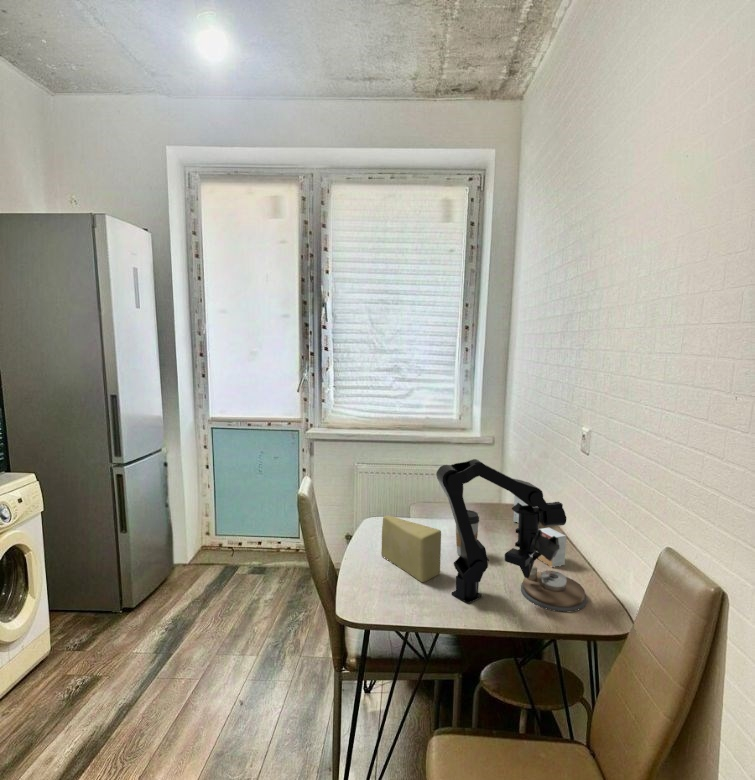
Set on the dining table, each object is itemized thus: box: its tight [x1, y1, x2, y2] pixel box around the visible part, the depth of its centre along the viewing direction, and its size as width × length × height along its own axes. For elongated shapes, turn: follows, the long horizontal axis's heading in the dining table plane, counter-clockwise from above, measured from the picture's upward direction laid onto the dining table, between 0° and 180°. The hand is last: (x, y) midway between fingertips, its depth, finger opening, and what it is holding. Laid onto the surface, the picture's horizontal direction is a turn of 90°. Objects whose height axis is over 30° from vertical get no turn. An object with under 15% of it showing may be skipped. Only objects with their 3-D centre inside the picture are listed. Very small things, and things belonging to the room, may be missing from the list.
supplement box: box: [512, 495, 537, 524], centre depth 188 cm, size 7×7×13 cm
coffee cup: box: [455, 509, 480, 557], centre depth 156 cm, size 8×8×15 cm
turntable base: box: [520, 581, 587, 613], centre depth 132 cm, size 18×19×1 cm
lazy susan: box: [522, 565, 586, 607], centre depth 131 cm, size 17×17×5 cm
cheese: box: [381, 514, 442, 583], centre depth 147 cm, size 22×10×15 cm, turn 44°
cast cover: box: [541, 570, 567, 592], centre depth 131 cm, size 7×7×3 cm
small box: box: [537, 527, 567, 568], centre depth 152 cm, size 8×6×10 cm
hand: (526, 577), depth 132 cm, fingers closed
